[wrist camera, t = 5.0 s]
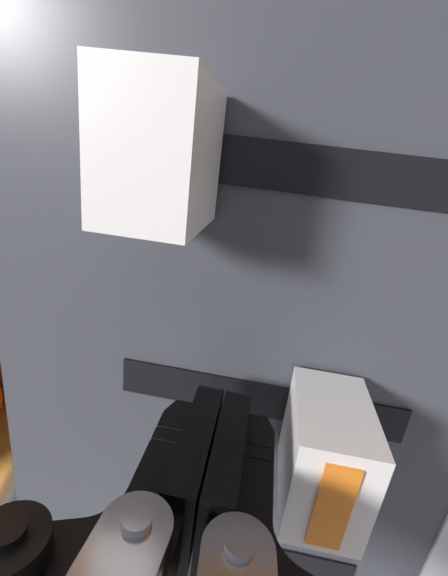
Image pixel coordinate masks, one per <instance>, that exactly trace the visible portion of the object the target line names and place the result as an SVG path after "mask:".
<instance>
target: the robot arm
mask: <svg viewBox="0 0 448 576" xmlns="http://www.w3.org/2000/svg"><path fill="white" fill-rule="evenodd" d="M223 397H224V400H223ZM250 402H251V394H245V393H240V392H235V391H230V390H226V392H225V396H224V389H219V388H213V387H208V386H203V385H199V386H198V388H197V391H196V394H195V396H194V399H193V402H187V401H182V400H176V401H174V402H173V403H172V404H171V405H170V406H168V407H167V408H166V409H165V410H164V411H163V413H162V415H161V418H160V420H159V422H158V424H157V428H155V431H154V433H153V435H152V437H151V440H150V441H149V443H148V446H147V448H146V450H145V452H144V454H143V456H142V458H141V461H140V463H139V465H138V467H137V469H136V471H135V473H134V476H133V478H132V480H131V482H130V484H129V486H128V488H127V490H126V492H125V494H123V495H121V496H120V497H118V498H116V499H115V500H114V501H112V502H111V503H110V504H109V505H108V506H107V507H106V509H105V510H104V511H103V512H101V513H99V514H96V515H93V516H89V517H83V518H73V519H63V520H52V516H51V513H50V511H49V510H48V508H47V507H45V506H44V505H43V504H41V503H39V502H36V501H33V500H18V501H13V502H9V503H6V504H4V505H1V506H0V576H187V575H188V570H189V566H190V561H191V557H192V563H191V571H190V576H314V575H312V574H310V573H309V572H307V571H306V570H304V569H302V568H301V567H299V566H298V565H297V564H295V563H294V562H293V561H292V560H291V559H290V558H289V557H288V556H287V555H286V553H285V552H284V551H283V549H282V548H281V546H280V544H279V542H278V541H277V538H276V535H275V533H274V528H273V490H274V448H275V432H274V429H273V427H272V425H271V423H270V421H269V419H268V417H264V416H259V415H254V414H249V410H250ZM192 552H193V555H192Z"/></svg>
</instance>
